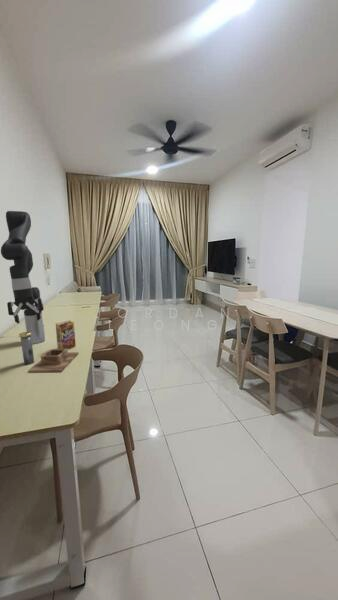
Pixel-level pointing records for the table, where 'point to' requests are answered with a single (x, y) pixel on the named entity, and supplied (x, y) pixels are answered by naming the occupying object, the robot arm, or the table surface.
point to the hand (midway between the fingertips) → (28, 321)
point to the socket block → (54, 361)
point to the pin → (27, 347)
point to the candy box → (65, 335)
